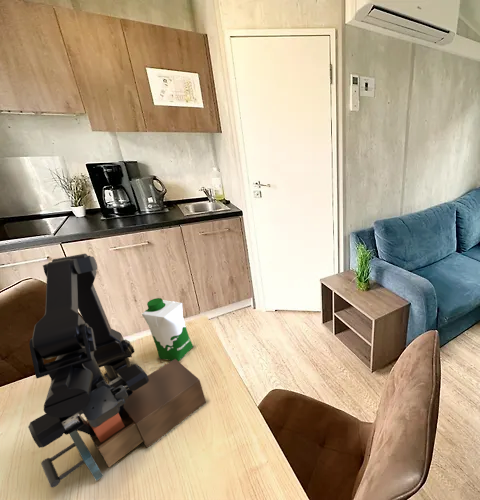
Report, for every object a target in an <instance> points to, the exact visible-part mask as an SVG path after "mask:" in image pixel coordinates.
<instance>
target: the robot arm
mask: <svg viewBox="0 0 480 500" xmlns="http://www.w3.org/2000/svg"><path fill="white" fill-rule="evenodd" d="M42 268H43V272H44V275H45V277H46V287H45V311H44V315H43V316H42V318H40V319H39V320H38V321H37V322H36V324H35V325H34V326H33V327H34V328H33V331H32V332H33V333H32V338H30V339H29V344H28V345H29V351H30V355H31V359H32V365H33V370H34V374H35V378H36V380H37V379H41V378H44V377H47V376H49V378H50V385H49V387H48V391H47V395H46V397H45V399H44V404H43V412H44V414H42V415H41V416H39V417H37V418H35V419H33V420H32V421H30V422H29V424H28V426H27V428H28V431H29V432H30V435H31V437H32V440H33V441H34V443H35V444H36V445H37V447H38V449H40V448H42V449H43V448H45V447H47V446H48V445H50V444H52V443H53V442H55V441H56V440H57V439H60V438H61V437H63V435H69V434H70V433H71V432H73V431H76V430H77V431H78V432H82V433H84V434H86V435H89V436H90V435H91V436H93V437H94V436H96V434H95V432H94V431H93V429H92V427H97V426H99V425H101V424H102V423H103V422H105V421H106V420H108V419H109V418H111V417H112V416H115V415H116V414H117V413H119V415H120V418H122V416H123V408H124V404H125V403H126V402H125V400H126V399H128V398H129V396H130V395H132V393H133V391H135V390H137V389H138V388H140V387H142V386H143V385H145V384H146V383H148V381H149V379H148V374H147V372H146V371H145V370H144V369H143V368H142V367H141V366H140V365H139V364H135V363H134V364H133V363H132V362H131V361H130V358H132V356H133V354H134V353H135V351H136V350H135V348H134V346H133V345H132V343H131V341H130V340H128V339H124V337H123V335H122V332H120V331H117V330H115V329H113V328H112V327H111V325H110V322H109V319H108V317H107V315H106V312H105V310H104V307H103V305H102V303H101V300H100V298H99V295H98V293H97V291H96V287H95V286H94V282H95V279H96V276H97V273H98V272H97V270H98V264H97V261H96V258H95V257H94V256H91V255H89V254H87V253H81V254H80V253H79V254H74V255H69V256H64V257H57V258H53V259H52V260H51V261H49V262H48V263H45V264H43V265H42ZM53 358H56V359H55V360H53V361H50V362H49V361H48V362H46V363H45V361H44V360H51V359H53ZM100 368H104V370H105V373H104V375H103V373H102V371H101V369H100ZM106 379H107V381H108V383H107V381H106ZM82 415H83V416H84V417H85V418H84V417H83V416H82ZM87 420H88V422H89V424H90V425H91V426H92V427H91V426H90V425H89V424H88V423H87V422H86V421H87Z"/></svg>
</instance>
